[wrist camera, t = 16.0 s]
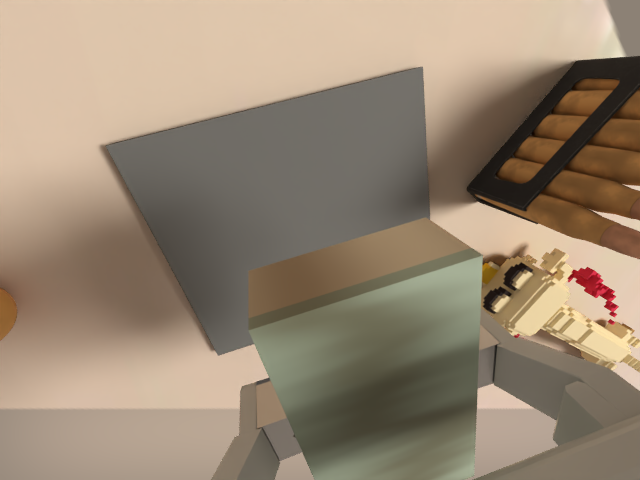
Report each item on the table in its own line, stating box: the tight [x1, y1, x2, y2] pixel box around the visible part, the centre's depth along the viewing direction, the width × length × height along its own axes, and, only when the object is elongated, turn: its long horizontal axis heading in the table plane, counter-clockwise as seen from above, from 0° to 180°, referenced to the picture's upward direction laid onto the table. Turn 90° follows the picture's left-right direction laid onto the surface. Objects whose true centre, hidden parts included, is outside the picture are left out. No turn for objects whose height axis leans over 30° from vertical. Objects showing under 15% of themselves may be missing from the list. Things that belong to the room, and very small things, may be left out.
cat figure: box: [481, 248, 640, 372], centre depth 27 cm, size 10×9×25 cm
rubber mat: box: [106, 67, 430, 355], centre depth 21 cm, size 18×16×1 cm
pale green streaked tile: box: [248, 217, 483, 480], centre depth 10 cm, size 6×2×10 cm
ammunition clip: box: [467, 56, 640, 259], centre depth 16 cm, size 11×2×12 cm, turn 142°
